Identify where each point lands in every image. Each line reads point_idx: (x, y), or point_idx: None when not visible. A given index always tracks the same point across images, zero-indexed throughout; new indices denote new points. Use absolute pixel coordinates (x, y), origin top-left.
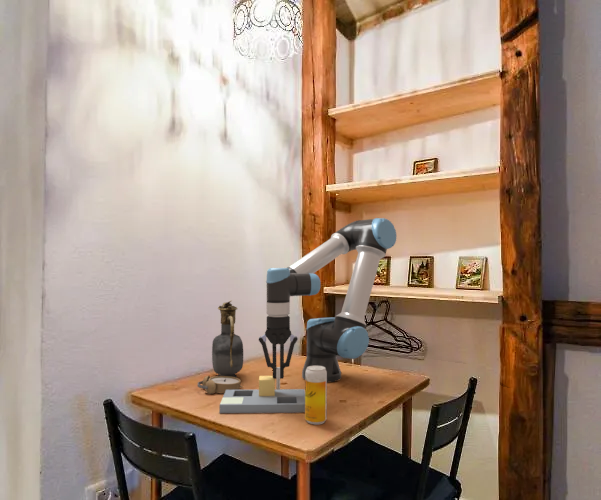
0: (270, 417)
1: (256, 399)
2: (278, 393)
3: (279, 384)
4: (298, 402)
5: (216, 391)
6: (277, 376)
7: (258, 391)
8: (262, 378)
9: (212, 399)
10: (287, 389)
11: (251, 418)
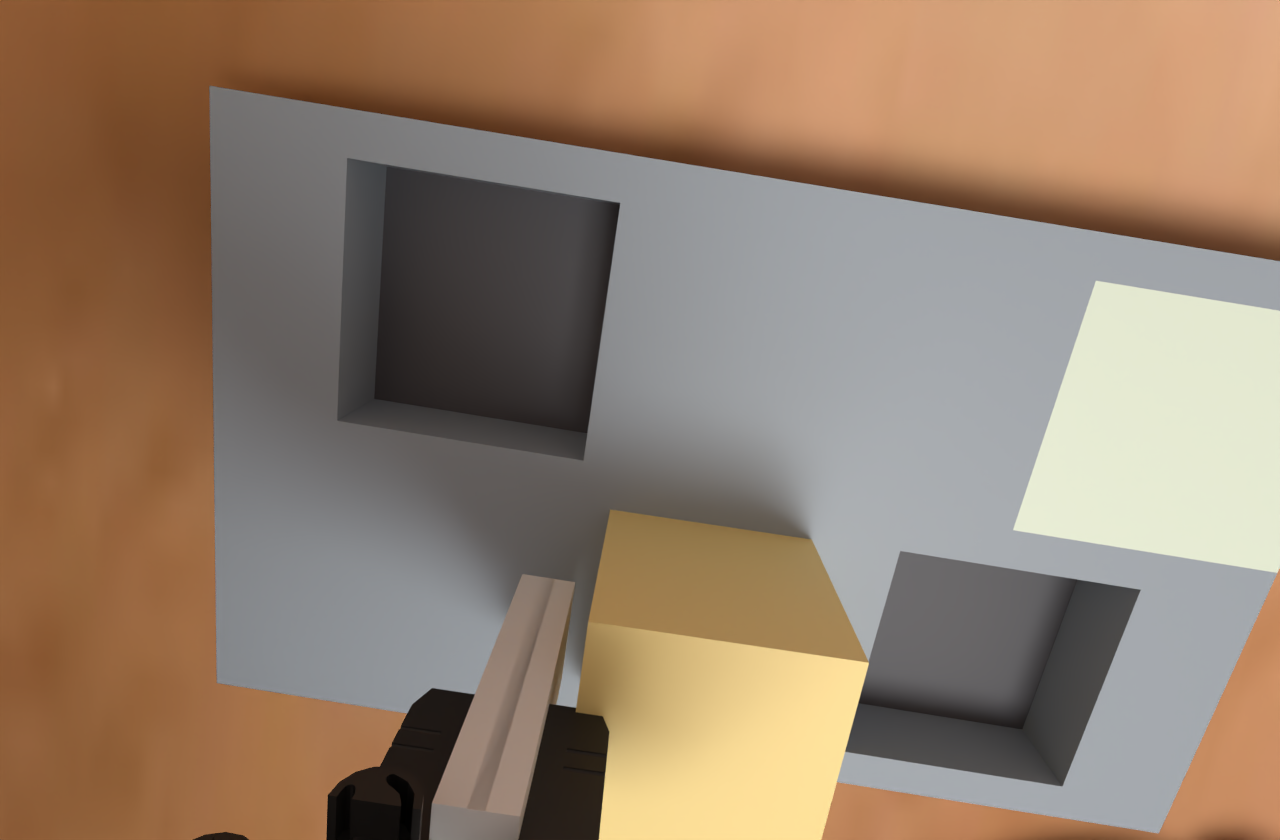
0: (734, 10)
1: (866, 415)
2: None
3: (516, 614)
4: (324, 187)
5: None
6: (523, 704)
7: None
8: (787, 743)
9: (1263, 725)
10: None
11: (971, 17)
